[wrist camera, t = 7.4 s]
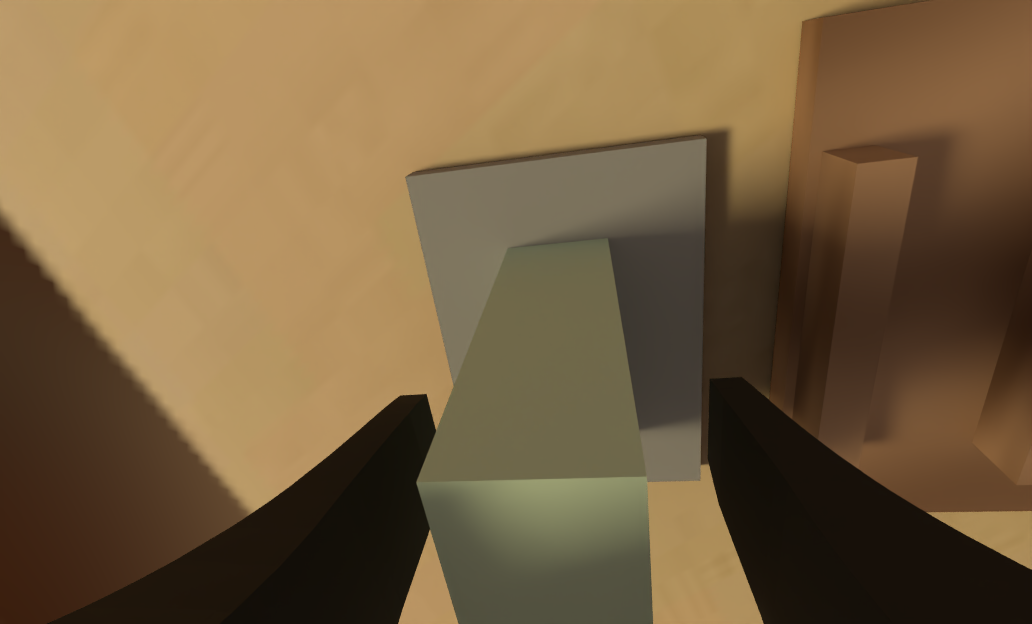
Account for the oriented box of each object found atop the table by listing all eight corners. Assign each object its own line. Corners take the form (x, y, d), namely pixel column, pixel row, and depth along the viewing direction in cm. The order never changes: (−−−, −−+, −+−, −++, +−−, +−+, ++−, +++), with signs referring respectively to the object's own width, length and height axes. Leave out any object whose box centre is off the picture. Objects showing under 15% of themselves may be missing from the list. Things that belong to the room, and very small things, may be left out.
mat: (696, 466, 16) (700, 480, 15) (479, 472, 17) (476, 485, 16) (700, 134, 12) (706, 138, 11) (412, 172, 13) (405, 177, 12)
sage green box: (620, 432, 15) (659, 772, 8) (537, 435, 15) (499, 761, 8) (607, 238, 12) (645, 476, 5) (507, 248, 13) (416, 481, 6)
